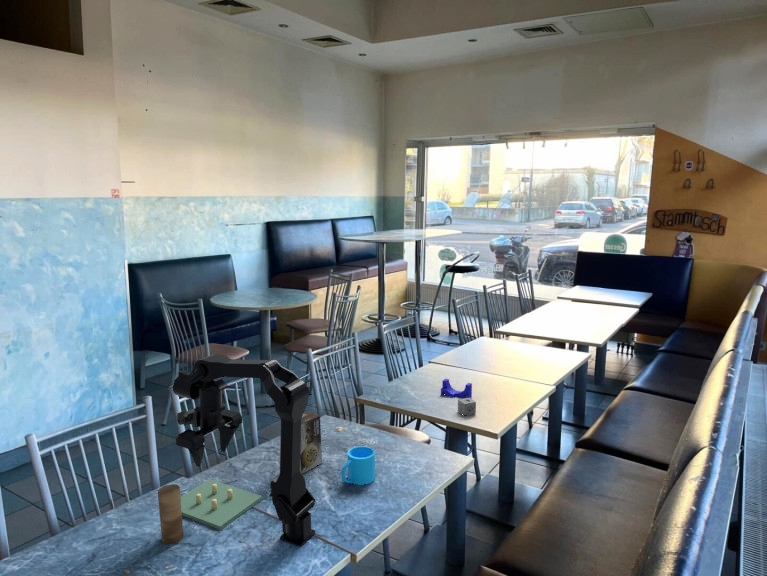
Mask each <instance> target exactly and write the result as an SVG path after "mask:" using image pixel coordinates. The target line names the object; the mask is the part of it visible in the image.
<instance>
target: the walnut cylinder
mask: <svg viewBox="0 0 767 576" xmlns="http://www.w3.org/2000/svg"><path fill="white" fill-rule="evenodd" d="M180 497H181V487H180V485H178V484H171V483H170V484H166V485H164V486H162V487H160V488H159V489H158V490H157V500H158V509H159V511H158V512H159V523H160V533H161V534H160V536H161V542H162V543H163V544H164V545H168V546H169V545H175V544H178V543H179V542H181V541H182V540H183V539H184V526H183V524H184V523H183V516H182V510H181V498H180Z"/></svg>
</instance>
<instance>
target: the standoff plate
mask: <svg viewBox="0 0 767 576" xmlns="http://www.w3.org/2000/svg"><path fill="white" fill-rule="evenodd" d="M180 498H181V510H182V517H185V518H188V519H190V520H193V521H195V522H198V523H200V524H204V525H206V526H209V527H211V528H213V529H217V530H219V531H221V530H223V529H224V528H225V527H227V526H228V525H229V524H231V523H232V522H233V521H235V520H236V519H237V518H239V517H241V515H244V513H246V512H247V511H249V510H250V509H252V507H254V506H255V505H257V504H258V503H260V502H261V501H263V495H260V494H258V493H254V492H251V491H248V490H245V489H241V488H239V487H235V486H232V485H230V484H227V483H223V482H221V481H217V480H213V479H211V478H210V479H208V480H206V481H204V482H202V483H200V485H198V486H196V487H195V488H193V489H192V490H190V491H187V493H184V494H183V495H180Z"/></svg>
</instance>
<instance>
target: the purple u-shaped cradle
mask: <svg viewBox="0 0 767 576" xmlns="http://www.w3.org/2000/svg"><path fill="white" fill-rule="evenodd" d="M472 393H473V383H471V382H467V383H466V384H465V387H464V389H463V390H461V391H460V390H456V389H455V388H453V387H452V385H451V384H450V379H449V378H445V379H443V380H442V386H441V388H440V396H443V395H444V394H445V396H444V397H448V396H450V397H449V398H453V397H454V398H455V396H457V398H460V397H461V398H460V399H464V398H471V399H472V396H473V395H472Z"/></svg>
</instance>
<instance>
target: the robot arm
mask: <svg viewBox="0 0 767 576" xmlns="http://www.w3.org/2000/svg"><path fill="white" fill-rule="evenodd" d="M279 362H280V361H278V360H276V359H273V358H271V359H270V358H269V359H238V358H237V359H233V358H229V356H227V355H223V354H219V353H213V354H211V355H208V356H204V357H202V358H200V359H196V361H195V363H194V365H193V369H192V370H191V371H188V370H185V369H184V370H179V372H178V374H177V375H178V376H177V377H176V378H175V380H174V381H173V385H172V392H173V394H174V395H176V396H179V397H182V398H185V399H190V400H193V401H194V400H198V406H196V407H195V408H191V409H189V410H182V411H179V412H177V416H176V420H177V423H178V425H180V426H182V425H183V426H184V427H187V426H188V425H192V426H193V428H194V427H195V428H199V430H196V431H195V430H193V429H190V428H187V429H186V430H184V431H182V432H181V433H178V434H177V435H176V436H175V445H176V446H179V447H181V448H184V449H187V451H189V453H190V455H191V457H192V459H193V462H194V465H195V466H196V467H198V468H200V467H201V465H202V463H203V457H204V454H205V453H204V452H205V448H206V445H205V444H204V443H205V442H206V441H205V438H206V437H207V436H208V435H210V434H211V433H213V432H215V431H217V430H218V431H219V443H220V451H221V452H223V453H224V452H226V450H227V448H228V446H229V444H230V443H231V440H232V439H233V437H234V435H235V433H236V432H237V430H238V428H240V425H241V424H243V416H242V414H241V412H237V411H234V410H231V409H226V405H224V404H222V403H223V396H222V395H223V392H222V391H224V390H226V389H228V388H229V385H228V383H227V382H225V381H224V380H223V379H224V378H241V379H243V378H247V379H259V380H260V381H261V382H262V384H263V386H264V390H265V392H266V394H267V396H269V398H271V400H272V401H273V403H274V410H275V412H276V414H277V415H278V417H279V420H280V438H279V439H280V444H279V474H278V475H277V476H275V477H274V478H273V479H272V480H271V481H270V494H269V497H271V503H272V506H274V509H275V512H276V514H277V518H278V520H279V521H281V527H282V534H281V535H280V536H279V540H281V541H283V542H285V543H289V544H292V545H295V546H298V547H302V546H303V545H304V544H305V543H306V542H307V541H309V539H310V538H312V537H313V536H314V535H315V534H316V530H315V529H312V515H311V514H312V513H311V512H309V511H310V510H312V509H313V508H314V507H315V504H316V499H315V497H314V496H313V495H312V494H311V492H310V491H309V490H308V488H307V485H306V478H305V477H304V475H303V474H301V472H300V451H301V418H302V415H303V413H304V412H305V411H306V408H307V406H308V402H309V397H310V387H309V386H308V385H307V384H306V382H305V381H304V380H302V379H301V378H300V376H298V375H297V373H296V372H294V371H292V370H291V369H288V368H286V367H284V366H282V364H281V363H279ZM275 378H276V380H277V379H278V380H279V381H282V382H283V383H285V384H282V385H281V386H279V385H278V384H277V383H276V380H275Z"/></svg>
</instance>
